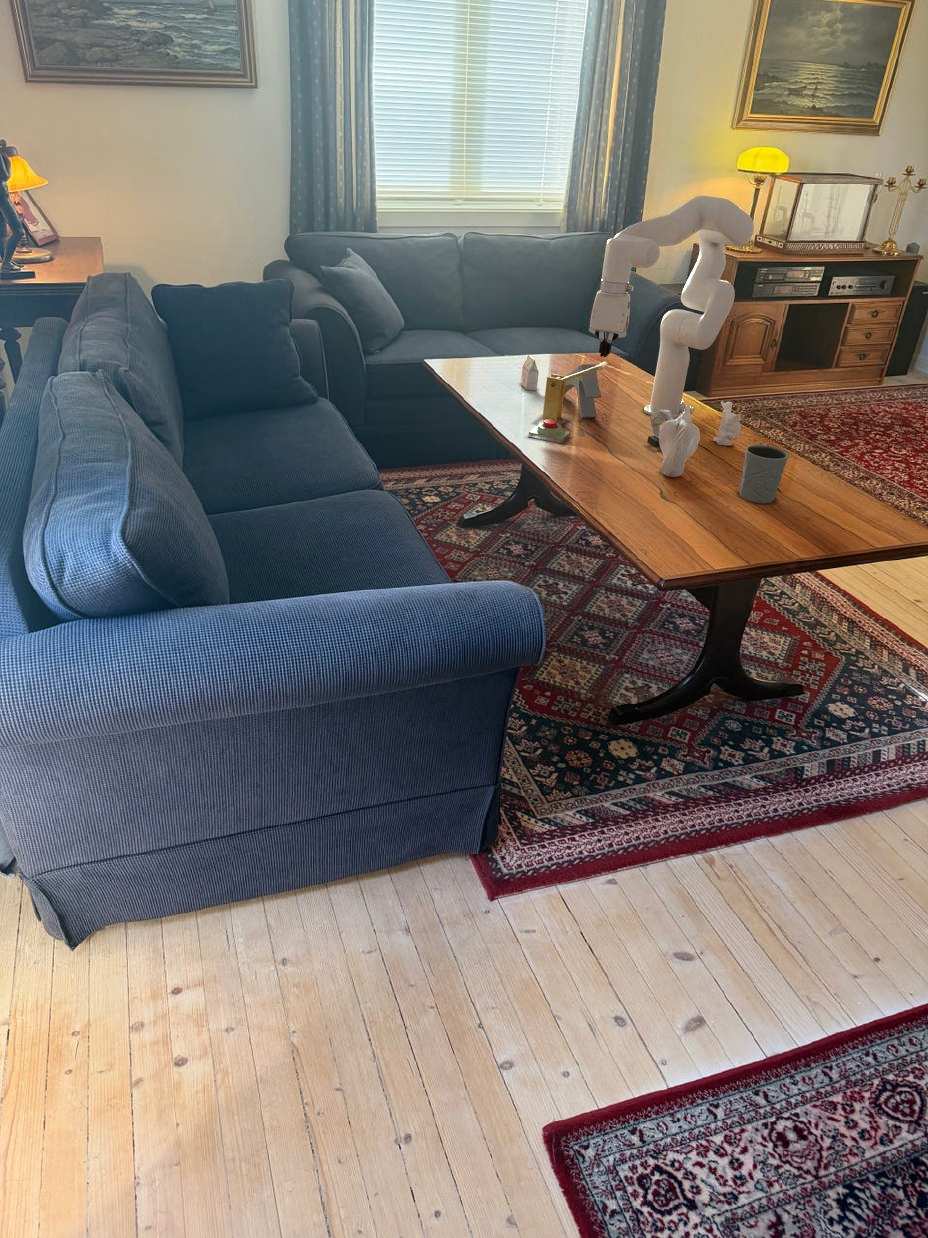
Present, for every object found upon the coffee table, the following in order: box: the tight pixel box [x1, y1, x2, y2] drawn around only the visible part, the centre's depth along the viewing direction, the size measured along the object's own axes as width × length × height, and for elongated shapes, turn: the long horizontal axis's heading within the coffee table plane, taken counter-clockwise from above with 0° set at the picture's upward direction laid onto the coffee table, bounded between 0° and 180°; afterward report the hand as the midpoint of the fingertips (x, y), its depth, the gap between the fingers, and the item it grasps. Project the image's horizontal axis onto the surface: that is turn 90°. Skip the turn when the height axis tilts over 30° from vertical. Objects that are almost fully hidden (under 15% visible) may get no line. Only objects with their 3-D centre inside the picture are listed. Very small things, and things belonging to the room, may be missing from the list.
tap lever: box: [557, 361, 609, 385], centre depth 243 cm, size 17×6×2 cm, turn 66°
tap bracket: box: [542, 373, 566, 422], centre depth 250 cm, size 8×9×14 cm
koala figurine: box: [712, 400, 742, 446], centre depth 242 cm, size 8×7×12 cm
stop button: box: [542, 419, 559, 429], centre depth 239 cm, size 4×4×2 cm
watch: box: [646, 409, 675, 448], centre depth 236 cm, size 6×8×11 cm
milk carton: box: [520, 354, 540, 391], centre depth 282 cm, size 4×7×10 cm, turn 13°
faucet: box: [564, 363, 602, 420], centre depth 263 cm, size 6×17×30 cm
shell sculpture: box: [659, 404, 701, 478], centre depth 216 cm, size 8×8×18 cm
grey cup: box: [739, 444, 789, 505], centre depth 209 cm, size 10×10×12 cm
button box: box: [528, 422, 571, 445], centre depth 240 cm, size 10×7×4 cm
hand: (604, 355), depth 237 cm, fingers closed
